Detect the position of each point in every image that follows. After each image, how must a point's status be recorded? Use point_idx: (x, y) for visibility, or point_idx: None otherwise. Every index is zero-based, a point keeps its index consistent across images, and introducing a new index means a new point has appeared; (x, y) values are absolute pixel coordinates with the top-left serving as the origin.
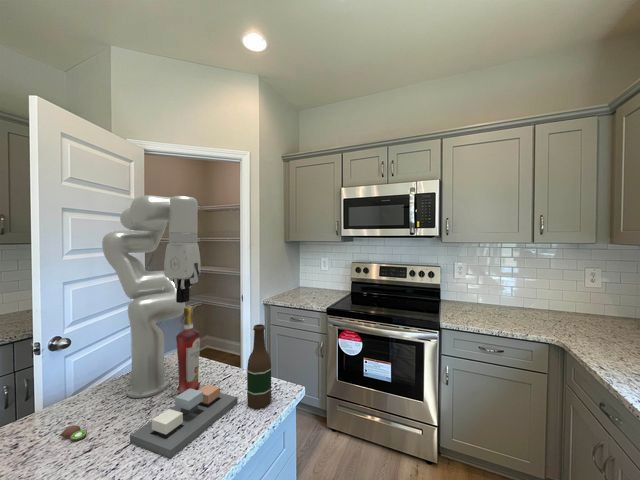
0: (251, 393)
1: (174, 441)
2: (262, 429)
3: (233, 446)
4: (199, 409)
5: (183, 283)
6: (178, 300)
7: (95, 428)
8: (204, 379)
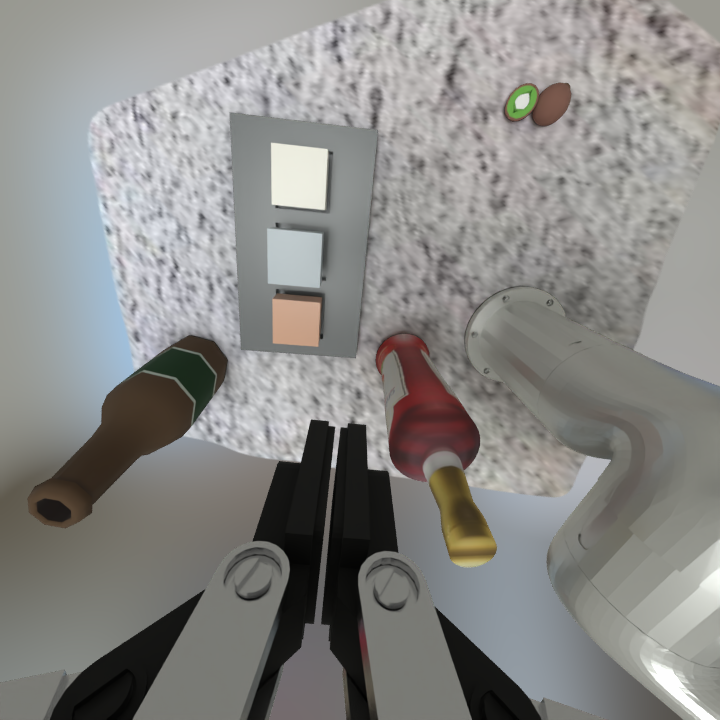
0: (184, 349)
1: (247, 144)
2: (121, 275)
3: (137, 202)
4: None
5: (184, 651)
6: (340, 435)
7: (509, 152)
8: None
